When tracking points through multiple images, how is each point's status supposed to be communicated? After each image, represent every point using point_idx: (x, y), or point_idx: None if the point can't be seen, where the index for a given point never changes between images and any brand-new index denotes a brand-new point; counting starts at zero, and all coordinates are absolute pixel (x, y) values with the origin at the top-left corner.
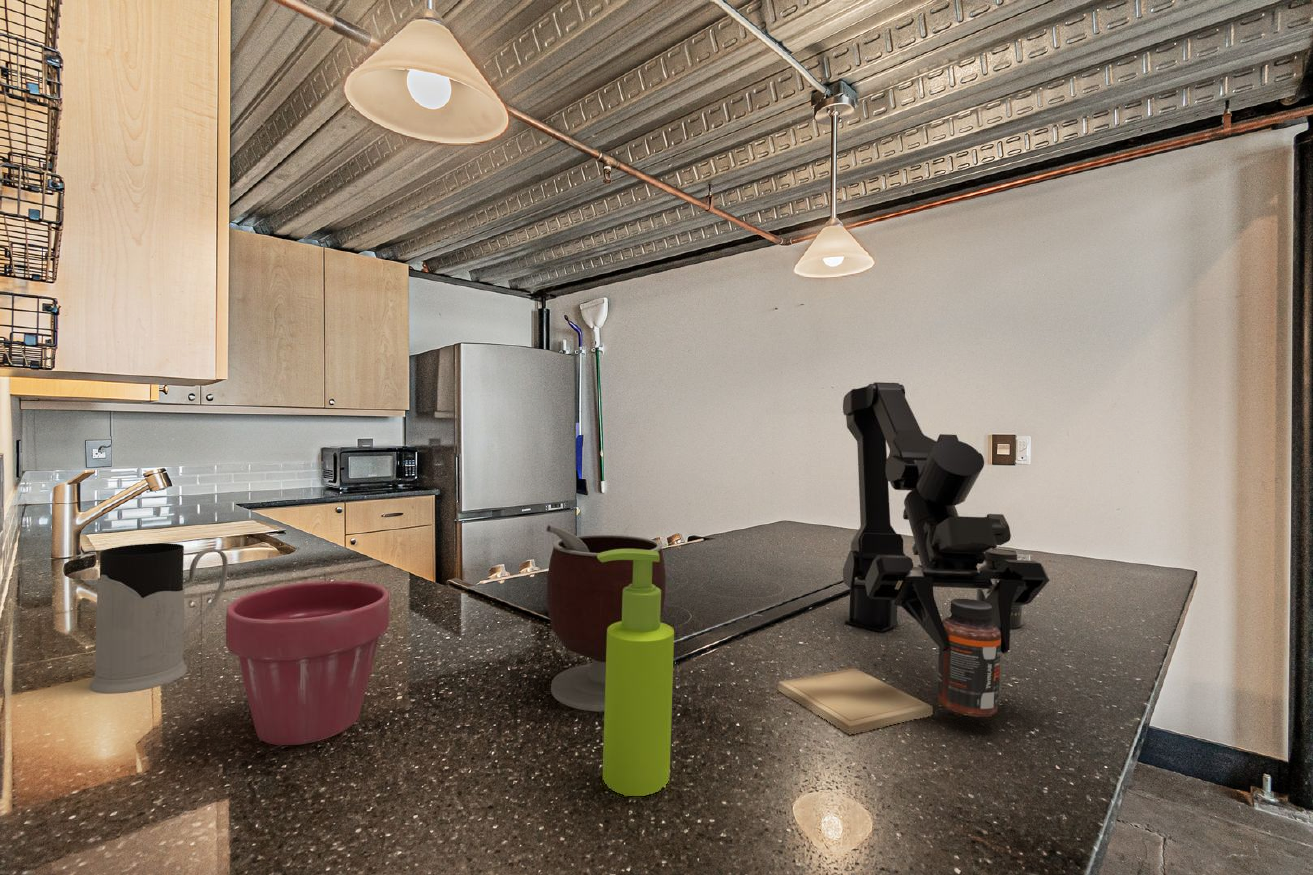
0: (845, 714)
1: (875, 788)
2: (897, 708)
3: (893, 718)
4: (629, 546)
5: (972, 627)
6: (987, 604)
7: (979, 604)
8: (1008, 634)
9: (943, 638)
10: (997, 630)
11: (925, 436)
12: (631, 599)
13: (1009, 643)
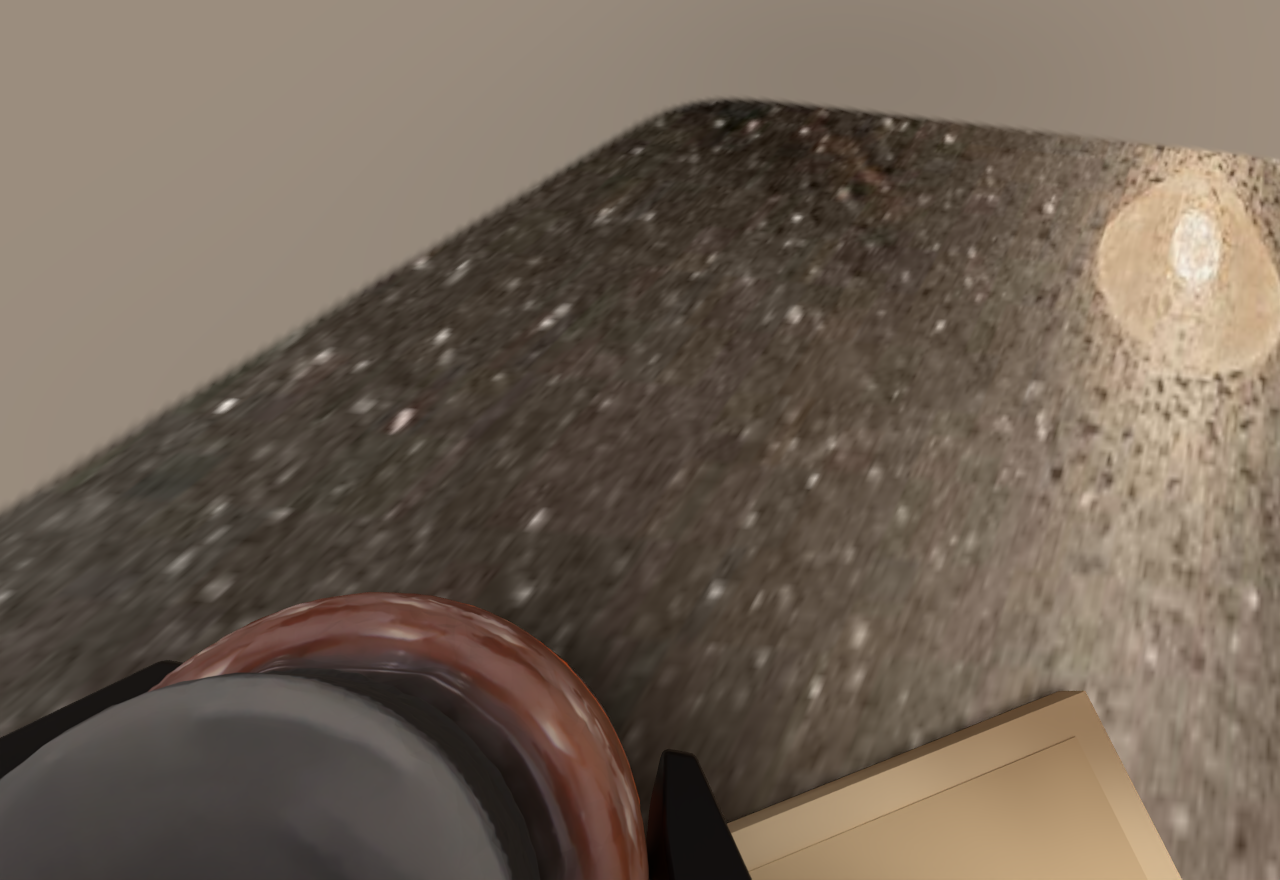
0: (1085, 801)
1: (1052, 369)
2: (812, 860)
3: (856, 779)
4: None
5: (466, 679)
6: None
7: None
8: (29, 734)
9: (699, 796)
10: (182, 673)
11: None
12: None
13: (115, 685)
